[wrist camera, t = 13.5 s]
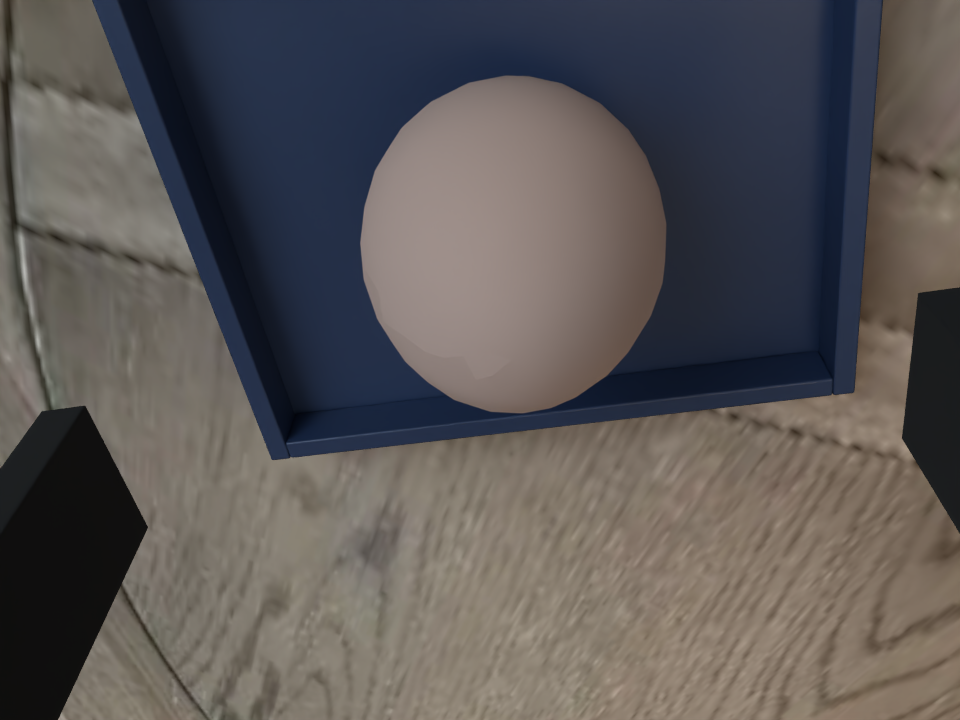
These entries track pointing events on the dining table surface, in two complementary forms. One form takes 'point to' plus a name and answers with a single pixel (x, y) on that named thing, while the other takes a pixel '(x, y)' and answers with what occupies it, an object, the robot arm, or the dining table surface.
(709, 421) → the dining table surface
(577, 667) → the dining table surface
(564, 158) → the egg
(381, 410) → the tray
